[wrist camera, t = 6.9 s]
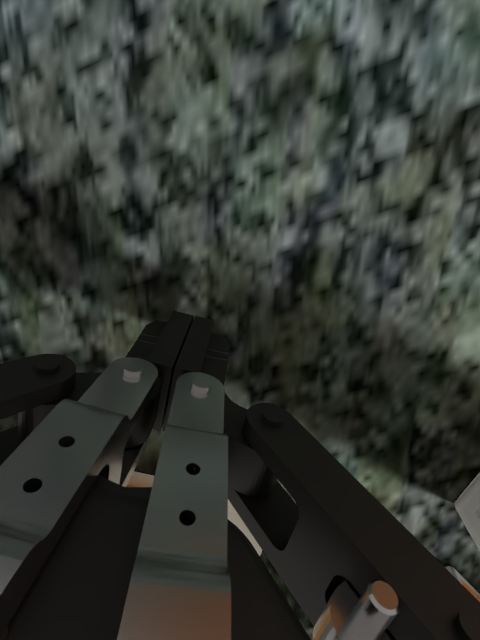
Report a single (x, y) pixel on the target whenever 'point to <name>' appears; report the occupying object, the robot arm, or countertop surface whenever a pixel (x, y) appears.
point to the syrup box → (471, 509)
